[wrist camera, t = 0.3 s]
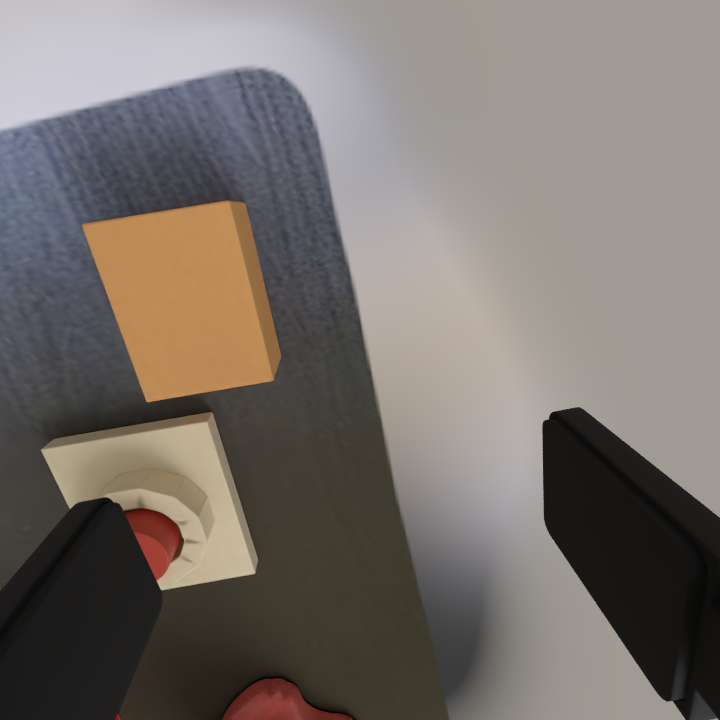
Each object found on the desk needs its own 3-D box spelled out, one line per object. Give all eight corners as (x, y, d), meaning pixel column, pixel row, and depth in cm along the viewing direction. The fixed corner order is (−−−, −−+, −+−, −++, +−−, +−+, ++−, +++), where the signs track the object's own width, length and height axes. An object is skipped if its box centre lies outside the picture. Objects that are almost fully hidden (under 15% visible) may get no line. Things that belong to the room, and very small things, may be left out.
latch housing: (53, 438, 23) (15, 469, 20) (212, 411, 23) (196, 438, 21) (122, 583, 27) (98, 626, 24) (258, 559, 27) (250, 599, 24)
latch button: (101, 514, 22) (83, 538, 20) (168, 502, 22) (155, 526, 20) (125, 565, 23) (109, 592, 22) (188, 554, 23) (177, 580, 22)
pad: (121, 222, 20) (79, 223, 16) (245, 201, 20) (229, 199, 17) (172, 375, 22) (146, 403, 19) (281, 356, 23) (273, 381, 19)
